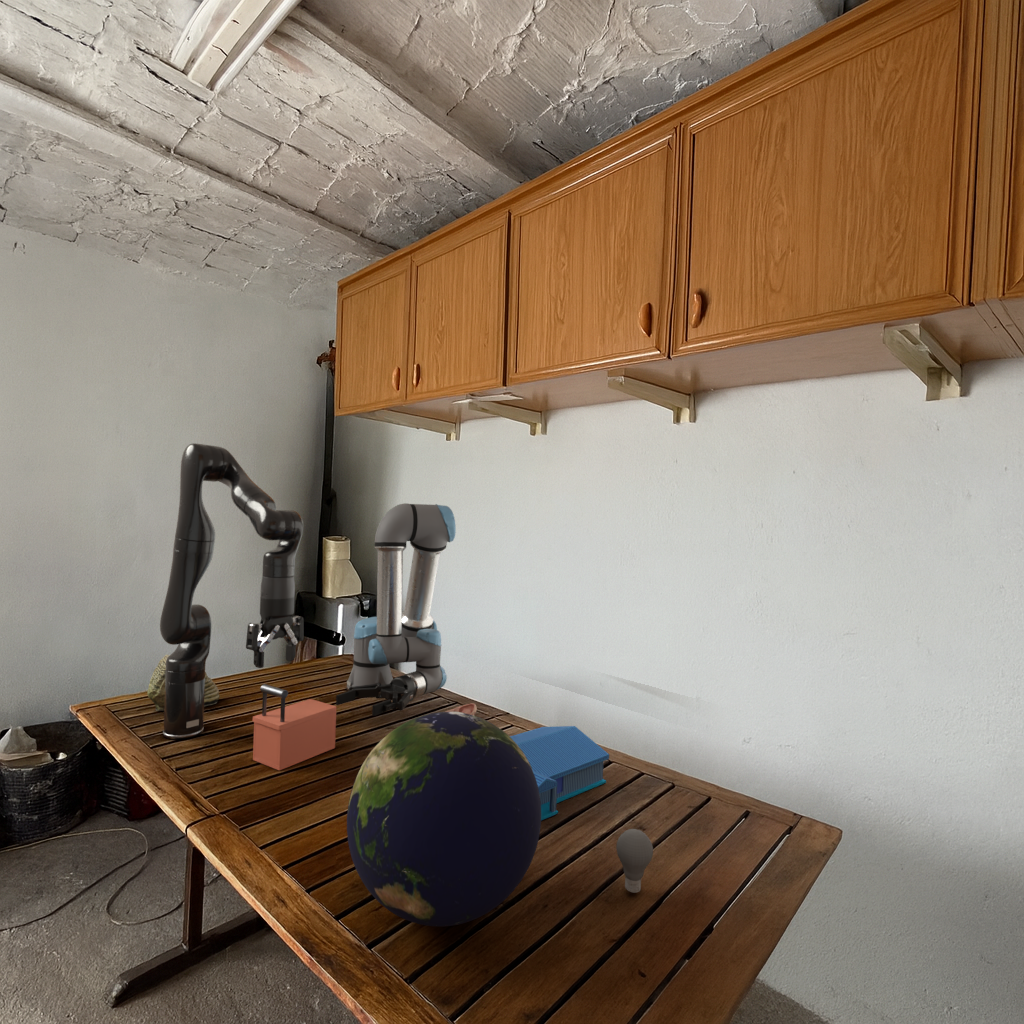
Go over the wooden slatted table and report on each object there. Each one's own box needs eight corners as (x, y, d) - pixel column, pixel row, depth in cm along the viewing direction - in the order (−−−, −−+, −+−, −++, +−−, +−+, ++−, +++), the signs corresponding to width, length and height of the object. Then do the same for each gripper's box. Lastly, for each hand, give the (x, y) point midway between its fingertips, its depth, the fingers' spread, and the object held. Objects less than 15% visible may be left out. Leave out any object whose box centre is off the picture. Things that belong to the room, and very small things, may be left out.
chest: (279, 770, 145) (280, 730, 145) (252, 760, 150) (254, 721, 150) (335, 748, 160) (336, 711, 159) (309, 739, 165) (310, 703, 164)
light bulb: (610, 879, 108) (613, 822, 108) (644, 879, 109) (647, 822, 109) (619, 902, 102) (622, 840, 102) (655, 901, 103) (658, 840, 103)
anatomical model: (424, 710, 178) (437, 698, 190) (423, 724, 179) (436, 711, 190) (469, 715, 176) (480, 702, 187) (469, 729, 176) (479, 716, 187)
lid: (279, 730, 145) (280, 693, 145) (252, 721, 150) (253, 685, 150) (336, 710, 159) (337, 677, 159) (310, 703, 164) (311, 670, 164)
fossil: (144, 707, 182) (145, 655, 182) (212, 696, 194) (213, 647, 194) (151, 716, 175) (153, 662, 175) (221, 703, 188) (223, 653, 188)
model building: (485, 844, 118) (488, 791, 117) (412, 795, 136) (414, 749, 136) (617, 787, 144) (619, 743, 144) (541, 752, 162) (543, 713, 162)
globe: (299, 937, 91) (307, 730, 90) (409, 838, 119) (415, 679, 118) (489, 1009, 80) (499, 773, 79) (561, 881, 107) (569, 705, 107)
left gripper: (261, 600, 140) (259, 673, 141) (312, 593, 153) (310, 660, 153) (240, 596, 144) (238, 667, 145) (291, 590, 157) (289, 655, 157)
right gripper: (439, 708, 183) (388, 729, 165) (375, 691, 196) (322, 709, 178) (440, 682, 183) (389, 700, 165) (376, 667, 196) (323, 682, 178)
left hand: (275, 663), depth 149 cm, fingers open, 8 cm apart
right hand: (354, 705), depth 171 cm, fingers open, 13 cm apart
